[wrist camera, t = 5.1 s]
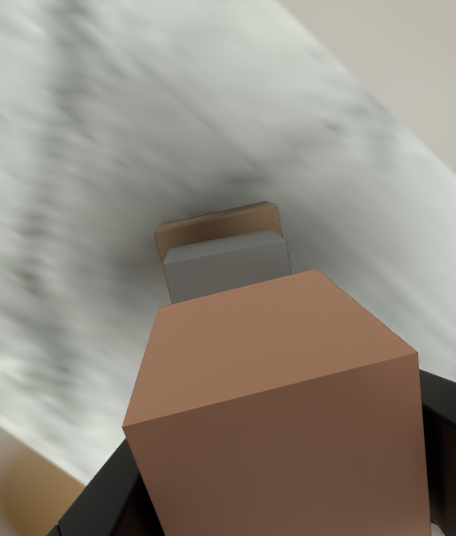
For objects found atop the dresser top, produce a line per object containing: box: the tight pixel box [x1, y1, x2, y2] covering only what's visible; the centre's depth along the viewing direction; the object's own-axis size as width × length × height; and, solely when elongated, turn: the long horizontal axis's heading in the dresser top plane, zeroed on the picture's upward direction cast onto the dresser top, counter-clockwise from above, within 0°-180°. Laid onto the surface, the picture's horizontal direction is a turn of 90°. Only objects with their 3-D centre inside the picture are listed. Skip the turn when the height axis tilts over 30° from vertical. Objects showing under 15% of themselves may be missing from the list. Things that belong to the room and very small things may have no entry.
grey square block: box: [163, 229, 291, 304], centre depth 15 cm, size 5×5×3 cm
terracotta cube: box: [122, 269, 431, 536], centre depth 8 cm, size 4×4×4 cm
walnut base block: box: [154, 201, 282, 264], centre depth 18 cm, size 6×6×3 cm
